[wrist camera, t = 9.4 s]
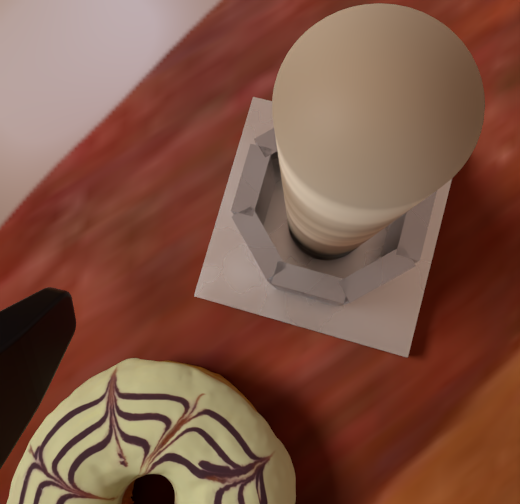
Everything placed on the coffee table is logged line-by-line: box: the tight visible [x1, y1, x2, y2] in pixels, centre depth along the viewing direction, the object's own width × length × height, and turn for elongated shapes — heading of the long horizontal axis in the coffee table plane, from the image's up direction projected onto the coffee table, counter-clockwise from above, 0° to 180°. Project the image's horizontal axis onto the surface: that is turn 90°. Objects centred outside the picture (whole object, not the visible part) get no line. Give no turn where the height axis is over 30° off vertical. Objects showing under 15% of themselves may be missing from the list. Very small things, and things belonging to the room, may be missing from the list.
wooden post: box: [272, 3, 485, 260], centre depth 14 cm, size 3×3×13 cm
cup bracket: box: [194, 97, 452, 358], centre depth 19 cm, size 9×9×4 cm
